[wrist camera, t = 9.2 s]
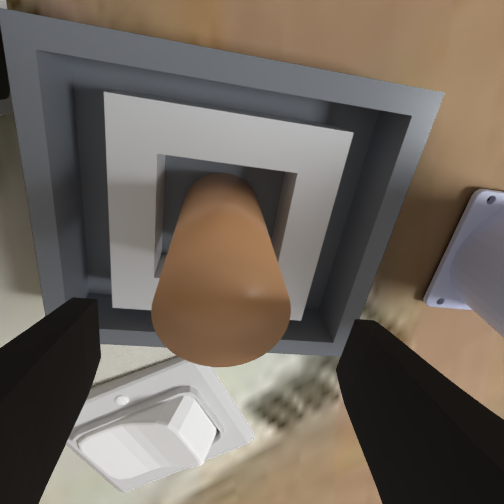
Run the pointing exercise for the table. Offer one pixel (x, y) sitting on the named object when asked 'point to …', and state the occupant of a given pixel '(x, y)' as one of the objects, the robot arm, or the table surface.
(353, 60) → the table surface
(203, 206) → the brown cylindrical peg
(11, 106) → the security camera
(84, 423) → the light switch
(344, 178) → the walled box
